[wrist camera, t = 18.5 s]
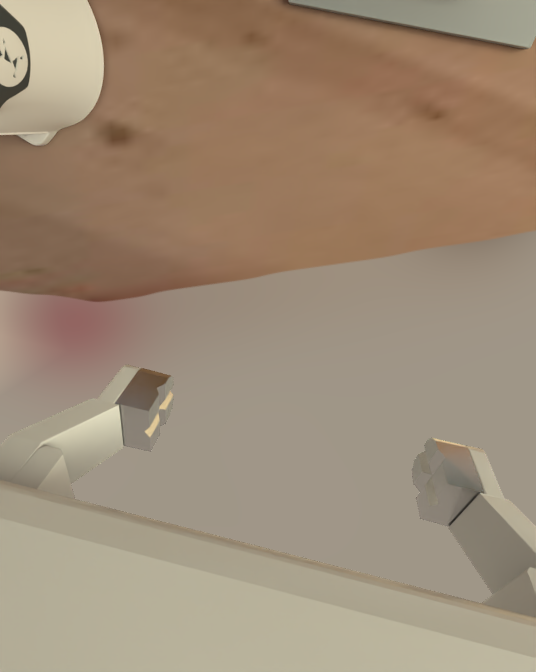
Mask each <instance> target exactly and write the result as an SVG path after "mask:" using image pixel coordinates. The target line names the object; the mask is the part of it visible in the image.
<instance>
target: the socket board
mask: <svg viewBox="0 0 536 672" xmlns="http://www.w3.org/2000/svg"><path fill="white" fill-rule="evenodd" d="M288 2H289V4H292V5H297V6H302V7H307V8H312V9H318V10H323V11H328V12H333V13H339V14H344V15H349V16H354V17H360V18H365V19H370V20H375V21H381V22H386V23H391V24H396V25H401V26H407V27H412V28H417V29H422V30H428V31H433V32H438V33H443V34H449V35H454V36H459V37H464V38H470V39H475V40H480V41H485V42H490V43H496V44H501V45H506V46H511V47H517V48H522V49H528V48H531V45H532V43H533V41H534V39H535V37H536V0H289V1H288Z"/></svg>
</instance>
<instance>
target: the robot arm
mask: <svg viewBox="0 0 536 672" xmlns="http://www.w3.org/2000/svg"><path fill="white" fill-rule="evenodd" d="M103 74H104V57H103V48H102V42H101V37H100V33H99V30H98V26H97V23H96V20H95V17H94V15H93V12H92V10H91V7H90V5H89V3H88V1H87V0H0V135H15V134H16V135H17V136H19V137H21V138H22V139H24V140H26V141H27V142H29V143H30V144H33V145H36V146H42V145H46V144H47V143H49V142H50V141H51V139H52V138H53V137H54V136H55V134H56V133H57V131H59V130H60V129H62V128H65V127H68V126H71V125H74V124H76V123H78V122H80V121H81V120H83V119H84V118H85V117H86V116H87V115H88V114H89V113H90V112H91V110H92V109H93V108H94V106H95V104H96V102H97V100H98V97H99V95H100V92H101V88H102V83H103ZM172 387H173V377H172V376H170V375H166V374H163V373H159V372H155V371H151V370H147V369H144V368H139V367H135V366H131V365H125V366H123V367H122V368H121V369H120V371H119V372H118V373H117V374H116V376H115V377H114V378H113V379H112V381H111V382H110V383H109V384H108V386H107V387H106V388H105V390H104V391H103V392H102V393H101V395H100V396H99V397H98V399H90V400H87V401H85V402H83V403H81V404H78V405H76V406H74V407H72V408H70V409H67V410H65V411H63V412H60V413H58V414H56V415H54V416H51V417H49V418H47V419H45V420H43V421H40V422H38V423H36V424H33V425H31V426H29V427H27V428H25V429H22V430H20V431H18V432H16V433H13V434H11V435H9V436H8V437H7V438H6V440H5V441H4V442H3V443H2V444H1V445H0V672H536V527H535V525H533V524H532V522H531V521H530V520H529V519H528V518H527V517H526V516H525V515H524V514H523V513H522V512H521V511H520V510H519V509H518V508H517V507H516V506H515V505H514V504H513V503H512V502H511V501H510V500H507V499H504V497H503V494H502V492H501V490H500V487H499V485H498V482H497V480H496V478H495V475H494V473H493V470H492V468H491V465H490V463H489V460H488V458H487V455H486V453H485V452H484V451H483V450H482V449H479V448H474V447H470V446H465V445H462V444H457V443H453V442H448V441H444V440H440V439H435V438H430V439H429V440H427V442H426V443H425V445H424V446H425V452H422V453H420V454H418V456H417V457H416V459H415V461H414V464H413V469H412V477H413V483H414V485H415V486H416V488H417V489H418V490H419V492H420V493H419V494H418V496H417V497H416V500H417V504H418V510H419V515H420V519H423V520H427V521H431V522H434V523H438V524H441V525H445V526H449V530H450V531H451V533H452V534H453V536H454V537H455V539H456V540H457V542H458V543H459V545H460V546H461V548H462V549H463V551H464V552H465V553H466V555H467V557H468V558H469V560H470V561H471V563H472V564H473V566H474V567H475V569H476V570H477V572H478V573H479V575H480V576H481V578H482V579H483V580H484V582H485V584H486V585H487V587H488V588H489V590H490V591H491V593H492V594H493V595H492V596H491V597H489V598H488V599H486V600H485V601H484V602H482V603H478V602H474V601H470V600H466V599H462V598H458V597H455V596H451V595H447V594H443V593H439V592H435V591H431V590H427V589H423V588H420V587H416V586H412V585H408V584H404V583H400V582H396V581H392V580H388V579H385V578H380V577H377V576H373V575H369V574H365V573H361V572H357V571H353V570H349V569H346V568H342V567H338V566H334V565H330V564H326V563H322V562H318V561H314V560H310V559H307V558H303V557H298V556H295V555H291V554H287V553H283V552H279V551H275V550H271V549H267V548H264V547H260V546H256V545H252V544H248V543H244V542H240V541H236V540H232V539H228V538H224V537H220V536H217V535H213V534H209V533H204V532H201V531H197V530H193V529H189V528H186V527H181V526H178V525H174V524H170V523H166V522H162V521H158V520H154V519H151V518H146V517H143V516H139V515H135V514H131V513H127V512H123V511H119V510H115V509H111V508H107V507H103V506H100V505H96V504H92V503H88V502H84V501H80V500H77V499H75V497H74V493H73V489H72V486H71V484H72V483H73V482H74V481H76V480H77V479H79V478H80V477H82V476H83V475H84V474H86V473H87V472H89V471H90V470H92V469H93V468H94V467H96V466H97V465H99V464H100V463H102V462H103V461H105V460H106V459H108V458H109V457H110V456H112V455H113V454H115V453H116V452H118V451H119V450H120V449H122V448H123V447H124V446H127V447H132V448H137V449H141V450H146V451H151V450H152V448H153V446H154V444H155V443H156V441H157V439H158V437H159V435H160V426H162V425H164V424H165V423H166V422H167V420H168V418H169V415H170V412H171V409H172V405H173V394H172V393H171V391H170V390H171V389H172Z"/></svg>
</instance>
